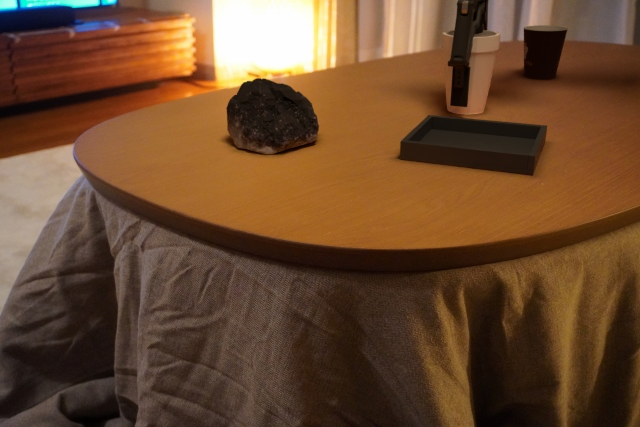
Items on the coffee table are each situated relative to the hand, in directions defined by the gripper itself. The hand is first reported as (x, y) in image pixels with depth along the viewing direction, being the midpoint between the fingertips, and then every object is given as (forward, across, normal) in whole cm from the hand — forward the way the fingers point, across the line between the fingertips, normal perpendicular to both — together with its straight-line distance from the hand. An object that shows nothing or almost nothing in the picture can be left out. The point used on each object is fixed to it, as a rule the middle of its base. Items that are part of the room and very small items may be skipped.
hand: (466, 98), depth 108 cm
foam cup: (+2, 0, 0) cm, 2 cm away
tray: (+2, +22, +6) cm, 23 cm away
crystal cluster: (+2, +28, -23) cm, 36 cm away
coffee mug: (+2, -34, +9) cm, 35 cm away
